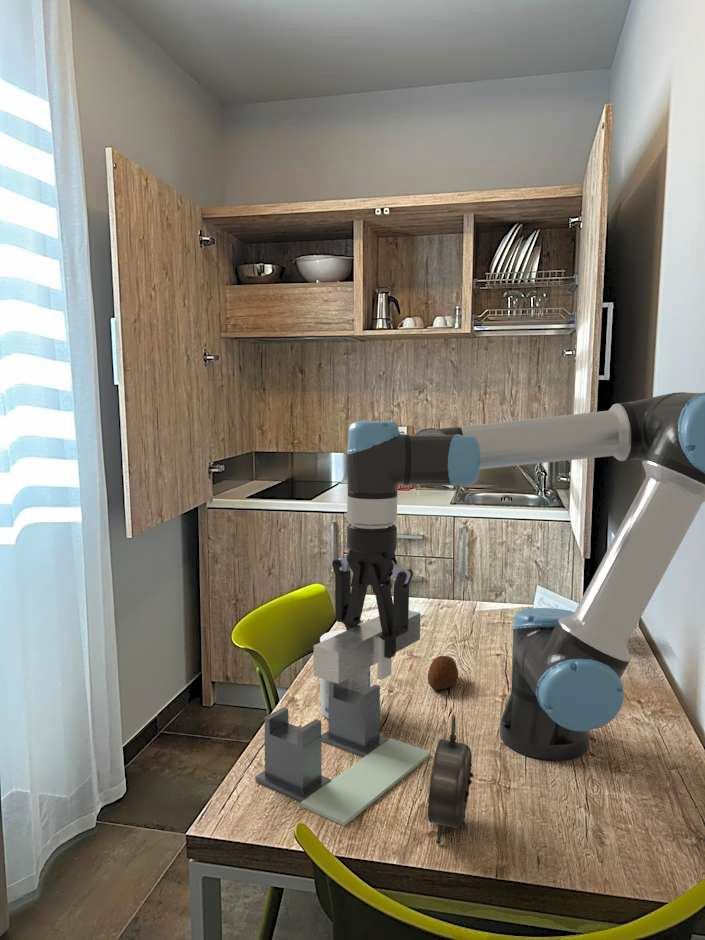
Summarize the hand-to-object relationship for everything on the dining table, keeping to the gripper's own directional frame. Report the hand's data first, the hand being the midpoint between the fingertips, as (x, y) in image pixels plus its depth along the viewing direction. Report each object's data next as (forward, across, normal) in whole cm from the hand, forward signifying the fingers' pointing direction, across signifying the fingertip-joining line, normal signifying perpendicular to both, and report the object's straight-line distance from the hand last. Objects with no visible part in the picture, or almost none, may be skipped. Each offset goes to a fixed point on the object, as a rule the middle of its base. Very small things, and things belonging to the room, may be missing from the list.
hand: (370, 672), depth 109 cm
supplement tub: (+18, +17, -16) cm, 29 cm away
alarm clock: (+18, -16, +3) cm, 24 cm away
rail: (-3, 0, 0) cm, 3 cm away
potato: (+18, +8, -38) cm, 43 cm away
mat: (+18, 0, 0) cm, 18 cm away
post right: (+18, +9, -8) cm, 21 cm away
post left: (+18, +9, +8) cm, 21 cm away
